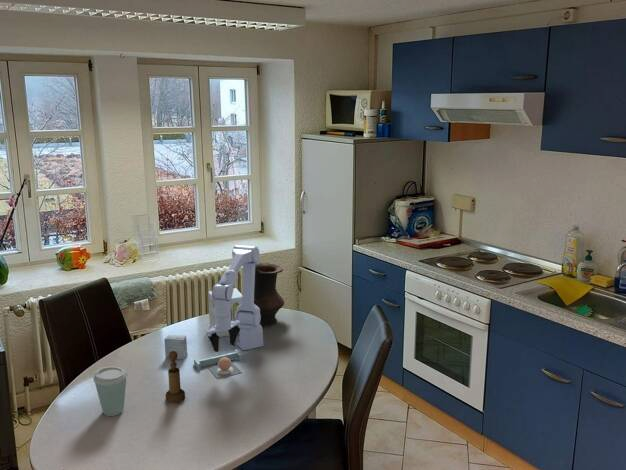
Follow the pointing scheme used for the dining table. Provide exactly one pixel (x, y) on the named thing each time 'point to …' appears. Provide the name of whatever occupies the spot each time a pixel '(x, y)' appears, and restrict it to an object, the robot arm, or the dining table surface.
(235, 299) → the supplement box
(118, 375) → the disposable coffee cup
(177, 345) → the medicine box
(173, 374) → the brown wooden tall figure
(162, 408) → the dining table surface
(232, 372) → the resting mat
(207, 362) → the divider wall
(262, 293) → the jug
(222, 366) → the ball
